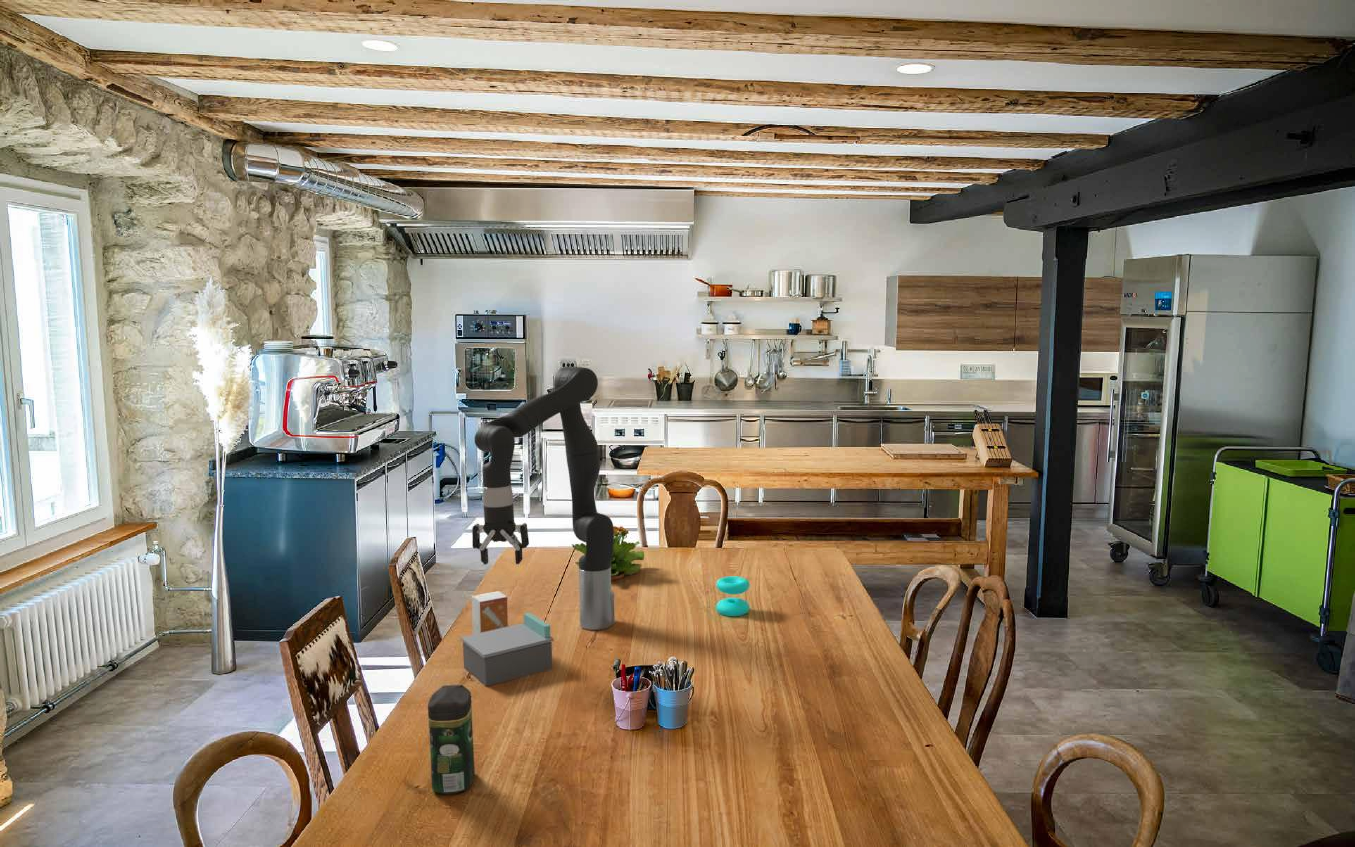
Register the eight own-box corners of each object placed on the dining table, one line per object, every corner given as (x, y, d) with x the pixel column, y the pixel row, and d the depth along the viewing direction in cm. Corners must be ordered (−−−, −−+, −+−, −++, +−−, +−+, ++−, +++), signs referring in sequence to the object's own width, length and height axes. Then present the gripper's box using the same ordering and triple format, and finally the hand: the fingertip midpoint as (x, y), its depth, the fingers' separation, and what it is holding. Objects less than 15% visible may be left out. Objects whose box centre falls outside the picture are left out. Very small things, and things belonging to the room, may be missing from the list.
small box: (481, 648, 238) (479, 601, 236) (472, 640, 243) (470, 595, 242) (509, 641, 242) (507, 596, 241) (500, 634, 248) (498, 590, 246)
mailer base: (528, 651, 235) (527, 626, 234) (552, 668, 224) (551, 642, 223) (463, 667, 225) (462, 641, 224) (485, 686, 214) (484, 658, 213)
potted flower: (640, 588, 289) (640, 536, 287) (569, 588, 289) (567, 536, 287) (644, 566, 314) (644, 518, 312) (578, 566, 314) (577, 518, 312)
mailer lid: (528, 624, 235) (527, 611, 234) (553, 641, 223) (553, 626, 222) (460, 640, 224) (460, 625, 224) (483, 658, 212) (483, 643, 212)
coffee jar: (436, 770, 174) (433, 681, 172) (477, 769, 175) (474, 679, 172) (427, 797, 164) (423, 703, 162) (470, 795, 165) (466, 701, 163)
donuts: (753, 576, 267) (743, 586, 258) (753, 608, 268) (743, 619, 259) (722, 573, 271) (711, 582, 262) (722, 604, 272) (711, 615, 263)
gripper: (529, 498, 228) (532, 559, 231) (475, 499, 230) (479, 559, 232) (521, 505, 221) (525, 567, 223) (466, 506, 222) (470, 568, 225)
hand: (501, 563), depth 228 cm, fingers open, 8 cm apart
